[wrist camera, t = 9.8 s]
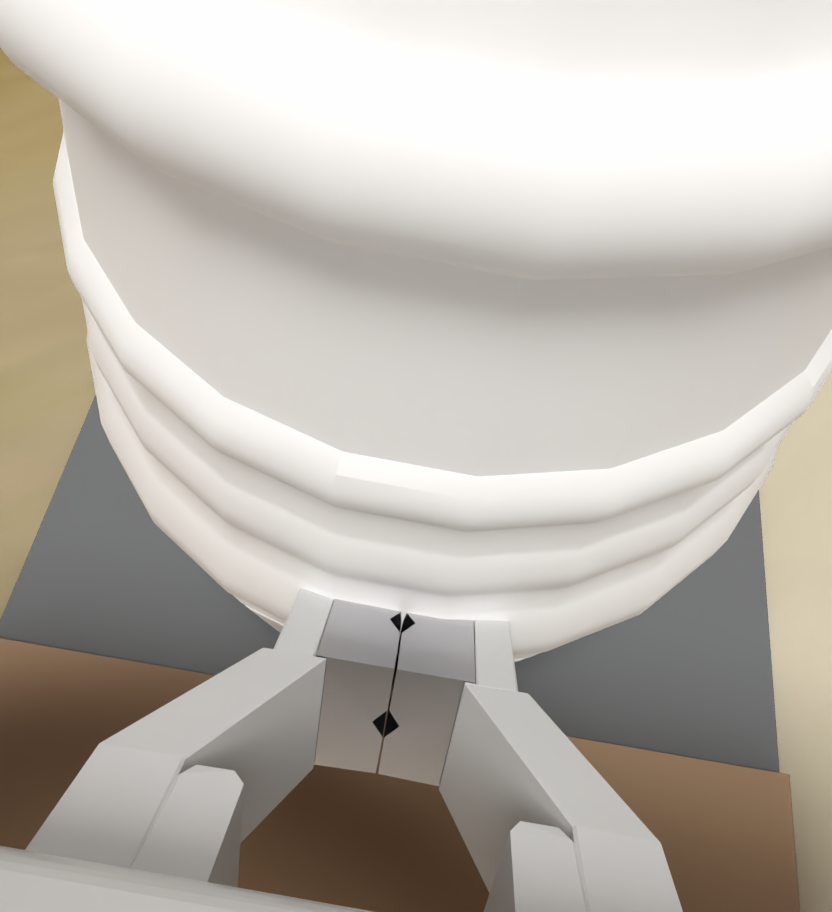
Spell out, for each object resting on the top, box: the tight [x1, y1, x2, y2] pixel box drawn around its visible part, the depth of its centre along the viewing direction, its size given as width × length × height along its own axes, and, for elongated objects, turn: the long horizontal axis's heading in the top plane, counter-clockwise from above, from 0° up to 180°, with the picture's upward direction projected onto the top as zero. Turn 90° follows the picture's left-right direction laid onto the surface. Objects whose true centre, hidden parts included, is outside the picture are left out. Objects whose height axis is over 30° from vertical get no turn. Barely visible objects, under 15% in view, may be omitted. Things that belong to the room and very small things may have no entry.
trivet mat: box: [0, 395, 779, 773], centre depth 16 cm, size 16×18×1 cm
